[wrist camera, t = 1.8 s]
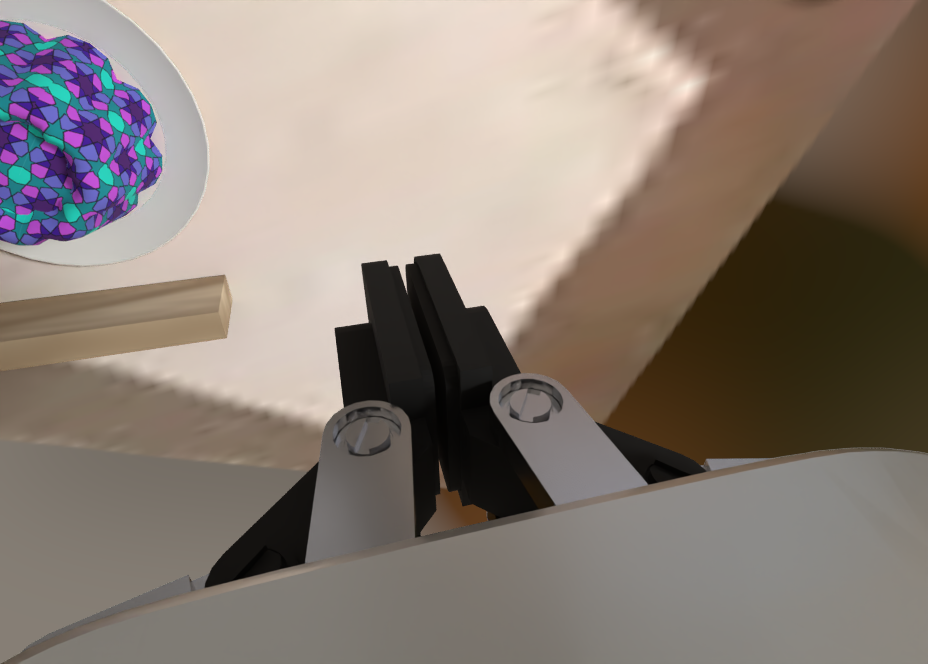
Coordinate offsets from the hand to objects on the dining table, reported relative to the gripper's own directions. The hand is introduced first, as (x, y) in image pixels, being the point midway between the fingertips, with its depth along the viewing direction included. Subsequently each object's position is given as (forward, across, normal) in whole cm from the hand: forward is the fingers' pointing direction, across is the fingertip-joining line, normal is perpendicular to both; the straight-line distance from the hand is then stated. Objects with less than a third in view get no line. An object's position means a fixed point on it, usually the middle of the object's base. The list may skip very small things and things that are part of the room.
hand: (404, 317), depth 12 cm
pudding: (+18, +12, 0) cm, 21 cm away
